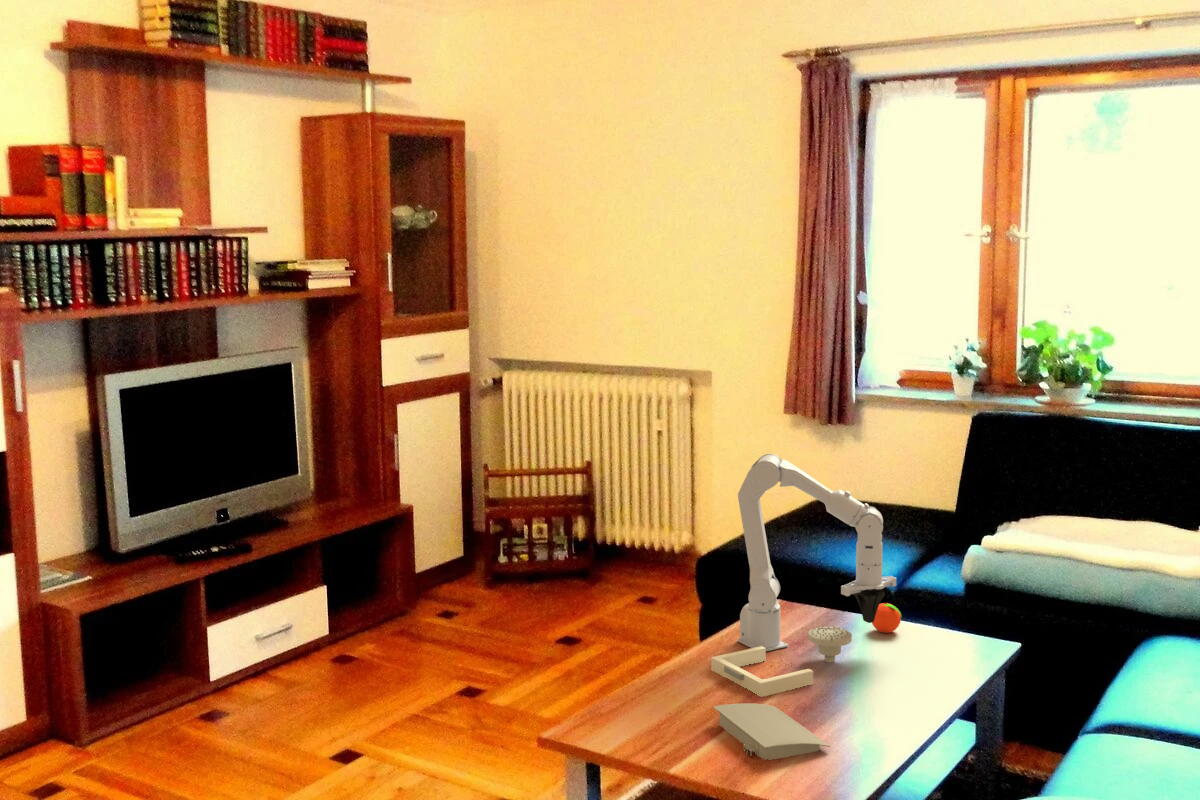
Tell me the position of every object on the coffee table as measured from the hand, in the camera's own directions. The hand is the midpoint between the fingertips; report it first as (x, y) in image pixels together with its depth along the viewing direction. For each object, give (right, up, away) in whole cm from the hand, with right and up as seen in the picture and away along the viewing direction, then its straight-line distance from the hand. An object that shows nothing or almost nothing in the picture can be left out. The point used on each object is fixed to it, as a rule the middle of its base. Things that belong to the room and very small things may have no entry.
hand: (868, 621), depth 275 cm
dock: (-26, -10, -13) cm, 30 cm away
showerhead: (-10, -8, -4) cm, 13 cm away
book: (-29, -15, -44) cm, 55 cm away
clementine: (+8, -5, +14) cm, 17 cm away
